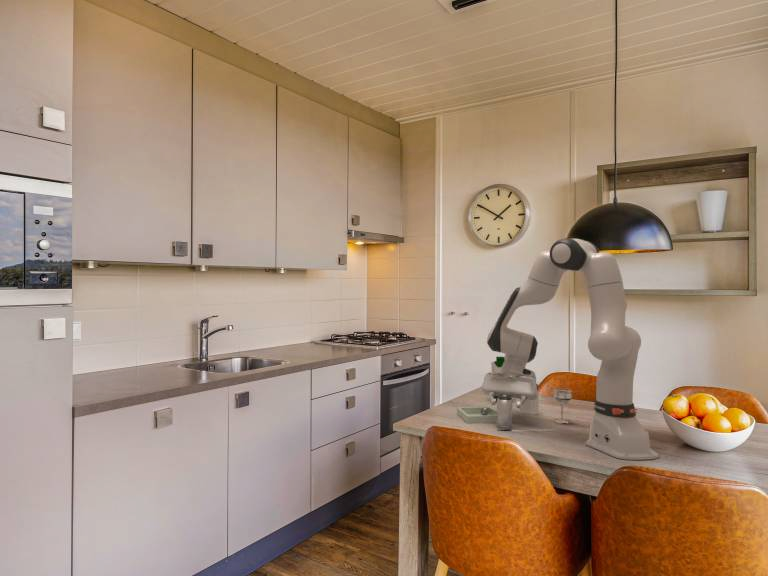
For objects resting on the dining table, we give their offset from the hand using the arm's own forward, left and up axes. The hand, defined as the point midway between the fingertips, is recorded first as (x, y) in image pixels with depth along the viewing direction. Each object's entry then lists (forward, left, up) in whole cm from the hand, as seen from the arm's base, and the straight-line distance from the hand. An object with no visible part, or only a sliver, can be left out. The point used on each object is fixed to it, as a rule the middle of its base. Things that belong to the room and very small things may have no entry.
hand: (505, 405), depth 190 cm
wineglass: (+6, -25, -8) cm, 27 cm away
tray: (+11, +6, -8) cm, 15 cm away
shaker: (-2, +1, -8) cm, 8 cm away
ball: (+15, +3, -7) cm, 17 cm away
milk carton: (+41, -14, -8) cm, 44 cm away
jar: (+20, -17, -8) cm, 28 cm away
